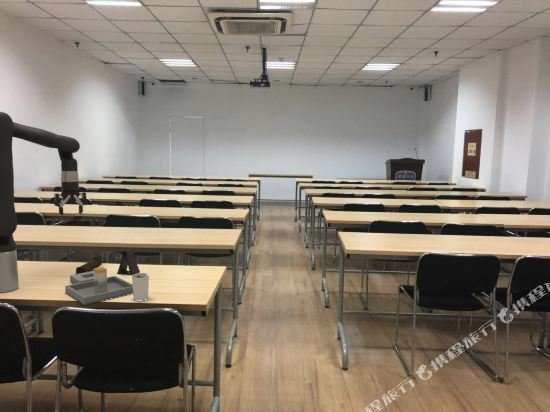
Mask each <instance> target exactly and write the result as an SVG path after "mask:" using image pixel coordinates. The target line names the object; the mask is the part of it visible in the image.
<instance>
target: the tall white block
mask: <svg viewBox="0 0 550 412" xmlns="http://www.w3.org/2000/svg"><path fill="white" fill-rule="evenodd" d="M107 270H108V269H107V268H106V267H103V266H99V267H95V268H93V269H92V271H93V273H94V291H95V292H96V293H103V292H107V277H108V272H107Z"/></svg>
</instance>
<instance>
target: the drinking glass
mask: <svg viewBox="0 0 550 412" xmlns="http://www.w3.org/2000/svg"><path fill="white" fill-rule="evenodd" d="M149 278H150V274H149V273H147V272H139V273H137V274H134V275H132V276H131V282H132V283H131V284H133V294H132V295H133V300H134V299H135V300H145V299H147V300H148V299H149V287H150V286H149V284H150V283H149V281H150V279H149ZM135 300H134V301H135ZM145 301H146V300H145Z"/></svg>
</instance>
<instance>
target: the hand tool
mask: <svg viewBox="0 0 550 412" xmlns="http://www.w3.org/2000/svg"><path fill="white" fill-rule="evenodd" d="M102 264H103V257H102V255H101V254H98V255H95V256H93V257H92V259H91V260H90V261H88V262H86V263H84V264H82V265H81V266H77V267H76V268H75V274H80V273H85V272H90V271H91V270H92V271H93V269H94V268H99V267H101V265H102Z"/></svg>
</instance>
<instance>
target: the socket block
mask: <svg viewBox="0 0 550 412" xmlns="http://www.w3.org/2000/svg"><path fill="white" fill-rule="evenodd" d="M92 280H94V273H93V270H92V271H91V270H90V271H88V272H85V273H80V274H76V273H75V274H70V275H69V281H70V283H72V284H77V283H82V282H87V281H92Z"/></svg>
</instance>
